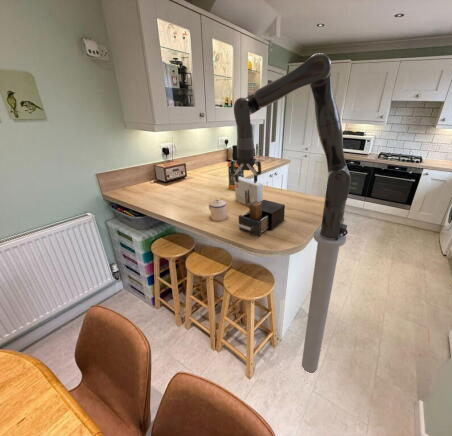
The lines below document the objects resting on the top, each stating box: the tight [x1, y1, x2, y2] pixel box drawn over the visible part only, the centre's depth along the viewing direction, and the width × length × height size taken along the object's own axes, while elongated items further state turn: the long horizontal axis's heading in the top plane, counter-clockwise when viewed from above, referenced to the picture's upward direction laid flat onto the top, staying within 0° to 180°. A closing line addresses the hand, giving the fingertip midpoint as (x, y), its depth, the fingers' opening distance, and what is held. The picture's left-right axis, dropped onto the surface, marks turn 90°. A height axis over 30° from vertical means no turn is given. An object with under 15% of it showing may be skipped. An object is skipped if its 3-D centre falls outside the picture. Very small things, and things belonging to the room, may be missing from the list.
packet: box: [249, 201, 262, 221], centre depth 116 cm, size 4×5×13 cm
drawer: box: [237, 210, 271, 238], centre depth 116 cm, size 16×12×8 cm
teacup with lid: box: [208, 197, 228, 222], centre depth 131 cm, size 12×9×12 cm
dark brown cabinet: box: [260, 199, 286, 231], centre depth 126 cm, size 14×14×10 cm
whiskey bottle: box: [227, 144, 245, 191], centre depth 172 cm, size 10×10×32 cm
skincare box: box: [234, 176, 264, 207], centre depth 148 cm, size 21×6×16 cm, turn 45°
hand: (246, 182), depth 112 cm, fingers open, 8 cm apart
